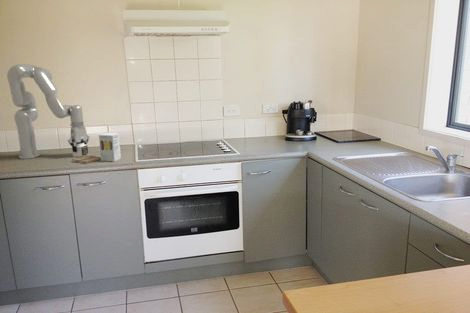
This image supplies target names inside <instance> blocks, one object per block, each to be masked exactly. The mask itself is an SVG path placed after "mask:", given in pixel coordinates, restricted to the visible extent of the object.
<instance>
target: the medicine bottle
mask: <svg viewBox="0 0 470 313" xmlns="http://www.w3.org/2000/svg"><path fill="white" fill-rule="evenodd" d="M75 146H76V148H77V152H73V150H72V149H71V151H72V157H74V158H81V157H84V156H86V155H88V156H89V149H88V148H89V147H88V143H87V144H84V141H83V139H81V142H78V143H76V145H75Z"/></svg>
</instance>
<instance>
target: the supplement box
mask: <svg viewBox="0 0 470 313" xmlns="http://www.w3.org/2000/svg"><path fill="white" fill-rule="evenodd" d="M98 139H99V140H98V141H99V149H100V150H99V151H100V157H101V159H100V161H101V162H110V161H112V162H113V163H114V162H117V161H119V160H120V159H122V156H121V143H120V133H119V132H103V133H100V134H99V135H98Z"/></svg>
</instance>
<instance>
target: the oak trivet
mask: <svg viewBox="0 0 470 313" xmlns="http://www.w3.org/2000/svg"><path fill="white" fill-rule="evenodd" d="M96 161H101V156H96V155H95V156H94V155H89V154H88V155H86V156H84V157H76V158H73V159H71V162H73V163H77V164H90V163H94V162H96Z"/></svg>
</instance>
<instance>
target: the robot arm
mask: <svg viewBox="0 0 470 313" xmlns="http://www.w3.org/2000/svg"><path fill="white" fill-rule="evenodd" d="M6 76H7V78H6V79H7V82H8V85H9V91H10V96H11V99H12V103H13V105H14V106H15V107H17V108H21V109H18V110H17V111H15V113H14V122H15V125H16V129H17V135H18V141H19V149H20V150H17V151H18V153H19V155H18V158H19V159H22V160H23V159H24V160H25V159H34V158H38V157H40V152H38V151H37V142H36V137H35V136H36V135H35V130H34V126H33V122H34V121H36V120H37V119H38V116H39V112H38V107H37V102H36V99H35V98H36V97H35V96H34V95H33V93H31V92H30V91H26V87H25V83H24V81H23V80H22V79H23V78H24V79H25V78H31V79H33V80H34V82H35V84H36V85H37V86H38V88H39V90H41V93H42V94H43V95H44V97H45V101H46V105H47V106H48V108H49V110H50V111H51V112H52V114H53V115H54V117H56V118H58V119H63V118H68V117H69V118H70V125H69V126H70V138H69V139H68V140H67V142H68V143H69V145H70V147H71V151H72V150H73V152H77V148H76V146H75V145H76V143H78V142H81V139H83V141H84V144H87V145H88V143H89V139H90V135H88V132H87V130H86V125H84V118H83V109H82V106H81V105H77V104H76V105H68V104H64V105H62V104H61V103H60V101H59V99H58V96H57V95H58V94H57V93H58V88H57V87H56V85H55V84H54V82H53V81H52V78H53V75H52V72H51V71H50V70H49V69H47V68H43V67H40V66H37V65H33V64H30V63H19V64H14V65H13V66H11V67H10V68H9V69H8V70H7V73H6ZM73 152H72V153H73Z"/></svg>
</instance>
